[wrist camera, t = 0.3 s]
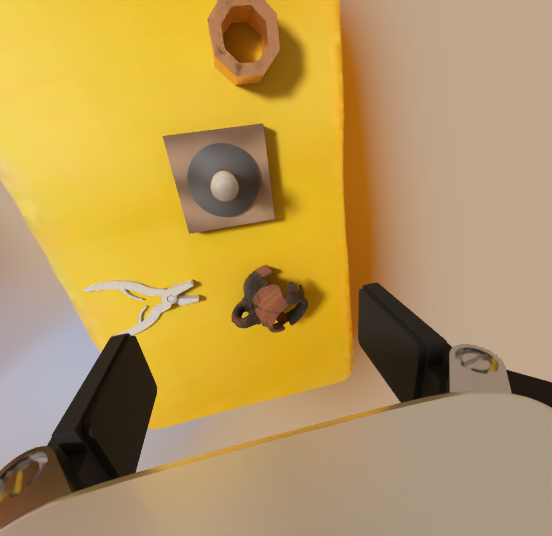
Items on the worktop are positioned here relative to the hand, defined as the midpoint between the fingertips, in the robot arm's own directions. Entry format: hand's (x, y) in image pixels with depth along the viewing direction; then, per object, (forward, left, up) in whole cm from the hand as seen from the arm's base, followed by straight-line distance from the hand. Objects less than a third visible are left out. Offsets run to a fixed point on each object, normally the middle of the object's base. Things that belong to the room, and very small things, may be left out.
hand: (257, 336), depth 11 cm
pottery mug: (+15, +3, -30) cm, 34 cm away
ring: (-18, +5, -30) cm, 35 cm away
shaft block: (-4, 0, -30) cm, 30 cm away
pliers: (+12, -15, -30) cm, 36 cm away
